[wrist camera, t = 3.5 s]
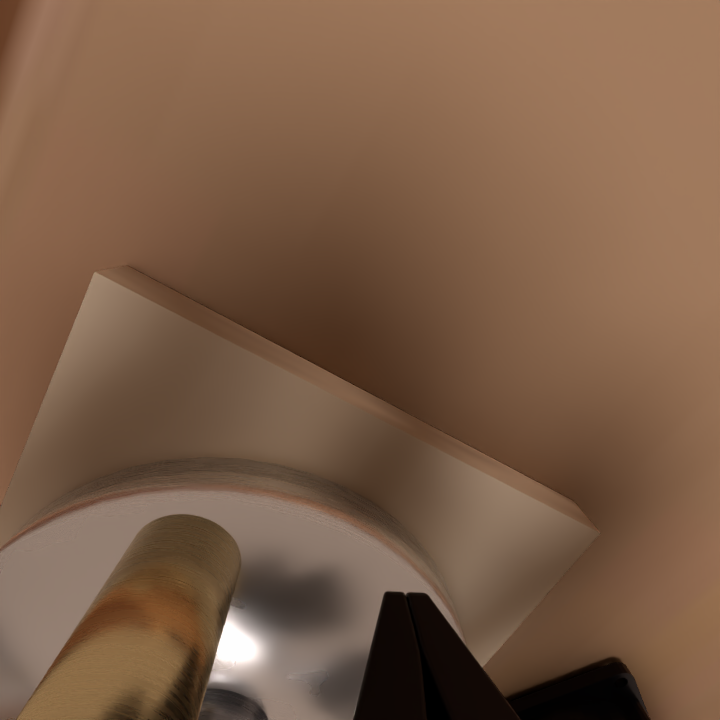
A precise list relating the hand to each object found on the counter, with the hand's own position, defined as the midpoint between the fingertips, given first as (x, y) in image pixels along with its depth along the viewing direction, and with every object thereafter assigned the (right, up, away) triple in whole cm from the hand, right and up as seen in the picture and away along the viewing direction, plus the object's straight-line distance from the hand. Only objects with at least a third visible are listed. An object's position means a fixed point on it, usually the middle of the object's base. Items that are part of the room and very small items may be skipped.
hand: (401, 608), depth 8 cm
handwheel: (-5, -4, +5) cm, 8 cm away
